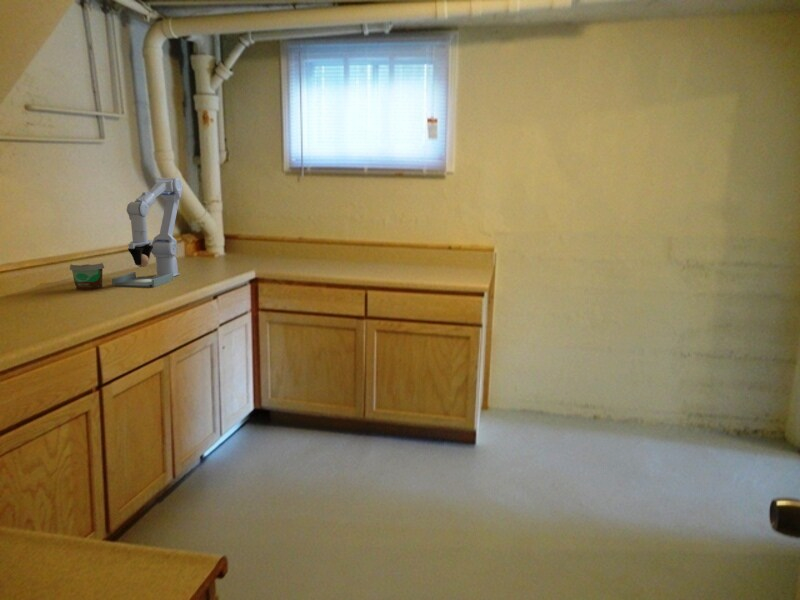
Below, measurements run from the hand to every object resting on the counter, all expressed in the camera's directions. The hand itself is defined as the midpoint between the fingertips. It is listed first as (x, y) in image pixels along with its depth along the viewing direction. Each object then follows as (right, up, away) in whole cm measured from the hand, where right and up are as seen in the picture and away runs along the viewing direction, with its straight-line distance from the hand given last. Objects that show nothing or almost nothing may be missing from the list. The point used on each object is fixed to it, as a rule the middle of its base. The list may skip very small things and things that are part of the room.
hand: (142, 263), depth 242 cm
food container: (-16, -11, -12) cm, 23 cm away
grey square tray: (0, -8, +2) cm, 8 cm away
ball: (0, +1, 0) cm, 1 cm away
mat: (0, -8, +2) cm, 8 cm away
